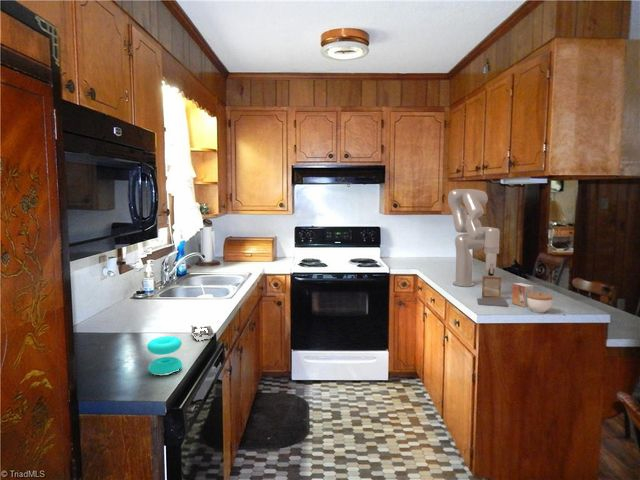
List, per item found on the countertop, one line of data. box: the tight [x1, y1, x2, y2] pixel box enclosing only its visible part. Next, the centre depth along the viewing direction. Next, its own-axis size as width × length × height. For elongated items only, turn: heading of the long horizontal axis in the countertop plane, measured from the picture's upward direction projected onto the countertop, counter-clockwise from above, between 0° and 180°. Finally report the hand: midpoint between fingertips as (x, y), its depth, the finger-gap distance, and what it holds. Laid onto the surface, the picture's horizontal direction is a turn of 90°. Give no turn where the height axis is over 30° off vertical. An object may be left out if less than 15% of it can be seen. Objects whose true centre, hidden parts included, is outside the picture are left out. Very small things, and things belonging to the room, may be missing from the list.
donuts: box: [146, 335, 183, 374], centre depth 133 cm, size 10×10×10 cm
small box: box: [511, 282, 534, 308], centre depth 215 cm, size 8×6×10 cm
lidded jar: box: [527, 291, 553, 314], centre depth 203 cm, size 11×11×9 cm
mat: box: [477, 297, 509, 308], centre depth 219 cm, size 12×14×1 cm
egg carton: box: [190, 325, 214, 337], centre depth 167 cm, size 11×8×4 cm
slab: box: [481, 275, 502, 300], centre depth 228 cm, size 5×9×12 cm, turn 71°
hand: (490, 283), depth 237 cm, fingers closed
